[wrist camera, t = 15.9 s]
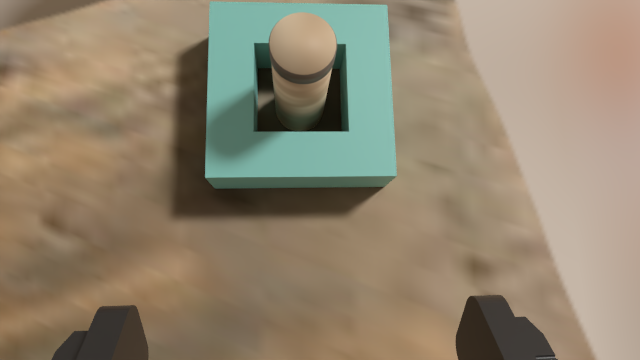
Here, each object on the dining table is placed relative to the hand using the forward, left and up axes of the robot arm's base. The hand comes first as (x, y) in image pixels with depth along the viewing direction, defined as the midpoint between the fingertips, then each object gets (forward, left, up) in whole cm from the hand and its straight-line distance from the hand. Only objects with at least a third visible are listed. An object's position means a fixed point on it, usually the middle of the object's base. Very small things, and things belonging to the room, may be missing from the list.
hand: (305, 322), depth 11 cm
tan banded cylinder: (0, +12, -17) cm, 21 cm away
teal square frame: (0, +12, -17) cm, 21 cm away
